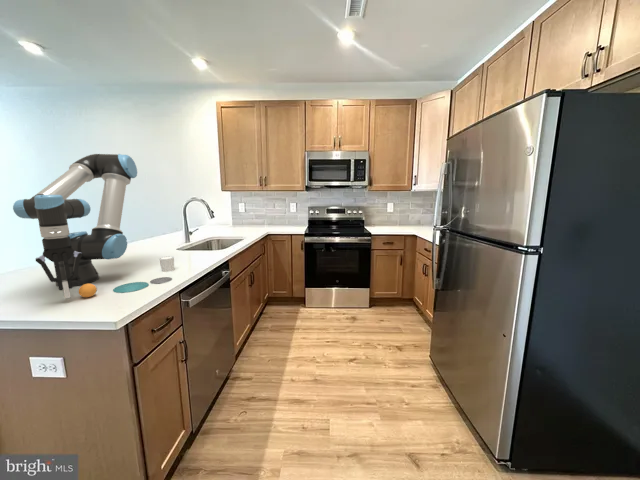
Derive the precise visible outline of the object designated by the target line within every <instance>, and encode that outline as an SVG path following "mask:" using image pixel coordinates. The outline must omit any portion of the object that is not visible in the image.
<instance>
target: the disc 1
mask: <svg viewBox="0 0 640 480" xmlns="http://www.w3.org/2000/svg"><path fill="white" fill-rule="evenodd" d="M148 287H149V282H146V281H135V282H128V283H124V284H121V285H118V286H115V287H114V288H113V289H112V292H114V293H118V294H120V293H121V294H122V293H123V294H125V293H132V292H137V291H140V290H143V289H146V288H148Z"/></svg>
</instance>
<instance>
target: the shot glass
mask: <svg viewBox="0 0 640 480" xmlns="http://www.w3.org/2000/svg"><path fill="white" fill-rule="evenodd" d="M158 259H159V263H160V269H161V272H162V273H163V272H164V273H167V272H168V273H169V272H173V271H174V270H175V257H174V256H162V257H159V258H158Z"/></svg>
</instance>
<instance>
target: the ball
mask: <svg viewBox="0 0 640 480" xmlns="http://www.w3.org/2000/svg"><path fill="white" fill-rule="evenodd" d="M97 290H98V289H97V286H96V285H94V284H92V283H87V284H82V285H80V287H79V288H78V295H80V297H83V298H90V297H93V296H94V295H95V294H96V293H97Z"/></svg>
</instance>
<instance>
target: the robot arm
mask: <svg viewBox="0 0 640 480" xmlns="http://www.w3.org/2000/svg"><path fill="white" fill-rule="evenodd" d="M137 176H138V169H137V165H136V163H135V161H134V159H133V157H131V155H129V154H121V153H118V154H116V153H115V154H113V153H112V154H108V153H93V154H89V155H86V156H83V157H81V158H80V159H78V160H76V161H75V162H73V163H72V164H70V165H69V166H68V170H66V171H65V172H64V173H63V174H62V175H60V176H59V177H57V178H56V179H55V180H53V181H52V182H51V183H49V184H48V185H47V186H46V187H44V188H43V189H41V190H40V191H39V192H37V193H36V194H35V195H33V196H32V197H31V198H29V199H28V198H24V199H17V200H16V201H15V202H14V203H13V205H12V210H13V213H14V214H15V215H16V216H17V217H18V218H21V219H29V220H30V219H31V220H37V219H38V220H37V221H38V225H39V232H40V236H41V238H42V239H41V242H42V246H43V247H42V248H43V252H42V255H40V256H38V257H36V258H35V260H34V261H35V262H36V263H38V264H39V265H40V266H41V268H42V269H43V271H44V273H45V275H46V276H47V277H48V279H49V281H50V283H55V285H56V287H58V290H59V291H63V296H64V300H65V299H70V298H71V294H70V293H71V292H70V289H72V288H73V287H77V286H82V285H84V284H91V283H93V282H95V281H98V280H99V279H100V275H99V272H98V270H97V269H96V267H95V266H94V264H93V262H92V260H112V259H113V260H114V259H119V258H121V257H122V256H123V255H124V254H125V252H126V251H127V248H128V241H127V237H126V236H125V235H124V232H123V231H122V230H121V221H122V215H123V208H124V203H125V197H126V196H125V195H126V191H127V190H126V188H127V186H128V185H130V184H131V180H132V179H135V178H137ZM99 178H100V179H102V180H103V181H104V184H103V189H102V195H101V200H100V206H99V212H98V219H97V222H96V223H97V224H96V226H94V227H93V228H91V233H90V234H89V233H88V232H87V231H77V232H75V231H74V232H70V230H69V229H70V227H69V224H68V219H70V220H71V219H81V218H84V217H86V216H88V215H89V214H90V213H91V205H90V203H88V202H87V201H86V200H85V199H81V198H72V199H71V198H70V199H68V198H69V197H70V196H71V195H72V194H74V193H75V192H76V191H77V190H78V189H80V188H81V187H82V186H83V185H84V184H85V183H88V182H91V181H93V180H94V179H99ZM46 259H47V260H49V261H50V262H52V263H53V267H54V272H55V276H56V277H54V275H53V274H52V271H51V270H50V269H49V266H48V265H47V263H46Z"/></svg>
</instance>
